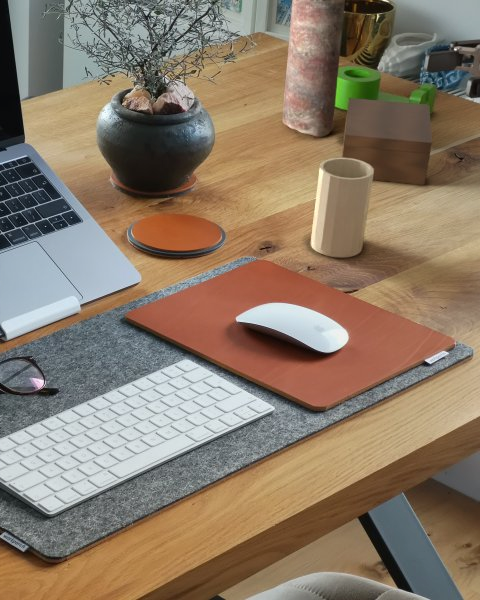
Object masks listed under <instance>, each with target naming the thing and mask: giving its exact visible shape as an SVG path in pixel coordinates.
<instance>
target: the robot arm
mask: <svg viewBox="0 0 480 600" xmlns="http://www.w3.org/2000/svg"><path fill="white" fill-rule="evenodd" d="M423 64H424V65H423V70H424V71H425V72H427V73H428V74H429V73H430V74H431V73H441V72H442V73H443V72H449V71H463V72H470V74H471V77H469V78H468V80H467V83H466V88H465V96H467V97H468V98H470V99H479V98H480V39H478V38H477V39H465V40H453V41H450V44H449V49H448V50H441V51H440V50H439V51H430V52H427V54H426V55H425V59H424V63H423Z"/></svg>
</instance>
